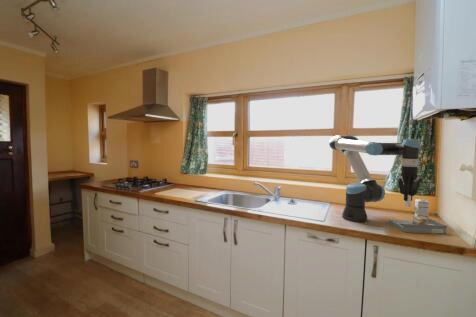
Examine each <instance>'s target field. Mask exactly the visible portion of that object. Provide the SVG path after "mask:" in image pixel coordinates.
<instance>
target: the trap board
mask: <svg viewBox="0 0 476 317" xmlns="http://www.w3.org/2000/svg"><path fill="white" fill-rule="evenodd" d="M427 219H428V225H418V224H412V222H413V219H388V224H389V225H391V226H392V227H394V228H396V229H397V230H400V232H403V233H416V234H417V233H418V234H419V233H420V234H421V233H422V234H423V233H424V234H425V233H427V234H446V233H447V225H445V224H443V223H441V222H438V221H437V220H434V219H431V218H429V217H428V218H427Z"/></svg>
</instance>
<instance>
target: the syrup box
mask: <svg viewBox="0 0 476 317" xmlns="http://www.w3.org/2000/svg"><path fill="white" fill-rule="evenodd" d="M414 204H415V205H414V216H422V217H424V218H429V212H430V211H429V206H430V205H429V204H430V201H428V200H427V199H421V198H420V199H419V198H415V200H414Z"/></svg>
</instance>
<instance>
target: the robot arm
mask: <svg viewBox="0 0 476 317" xmlns="http://www.w3.org/2000/svg"><path fill="white" fill-rule="evenodd" d="M328 142H329V144H328V145H329V148H331V149H332V150H334V151H341V152H342V155H344V156H346V158H347V160H348V162H349V164H350V167H351V169H352V171H353V173H354V174H355V177H356V179H357V181H358V182H352V183H349V184H347V185H346V187H345V188H346V189H345V206H344V208H343V211H342V215H341V217H342V218H343V219H344V220H346V221H351V222H356V223H364V222H365V223H366V222H368V217H369V216H368V214H367V212H366V204H367V203H378V202H381V201H382V200H384V199H385V195H386V190H385V188H384V186H382V185H381V184H378V182H377V180H376V179H373V178H372V176H371V174H370V172H369V170H368V168H367V166H366V164H365V162H364V160H363V159H362V157H361V154H360V153H362V154H368V155H370V156H401V165H402V166H401V174H400V176H399V177H396V180H397V182H398V189H399V193H400V194H401V195H403V201H404V206H405V207H406V208H407V207H408V208H411V207H412V206H411V205H412V201H413V197H414V196H416V195H417V193H418V191H419V190H418V189H419V187H420V183H421V182H422V180H423V178H421V177H419V176H418V173H419V167H418V166H419V152H420V140H419V139H415V138H414V139H413V138H412V139H411V138H410V139H403V140H402V142H375V141H366V140H359V138H358V137H357V136H354V135H350V134H348V135H346V134H345V135H343V134H342V135H339V134H337V135H334V136H332V137H331V138H330V139H329V141H328Z"/></svg>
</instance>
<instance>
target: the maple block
mask: <svg viewBox="0 0 476 317" xmlns="http://www.w3.org/2000/svg"><path fill="white" fill-rule="evenodd" d="M412 220H413V222H412V224H418V225H428V219H427V218H424V217H422V216H415V215H414V216H412Z"/></svg>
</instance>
